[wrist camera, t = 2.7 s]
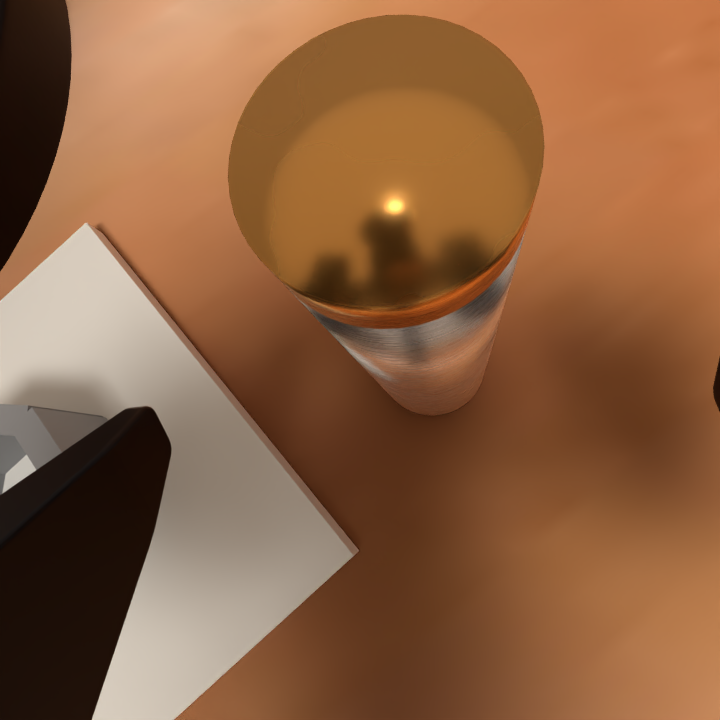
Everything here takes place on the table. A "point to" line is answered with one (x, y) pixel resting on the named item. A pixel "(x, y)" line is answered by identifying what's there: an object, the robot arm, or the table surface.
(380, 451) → the table surface
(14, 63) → the wall clock
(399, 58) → the gold topped patterned cylinder
